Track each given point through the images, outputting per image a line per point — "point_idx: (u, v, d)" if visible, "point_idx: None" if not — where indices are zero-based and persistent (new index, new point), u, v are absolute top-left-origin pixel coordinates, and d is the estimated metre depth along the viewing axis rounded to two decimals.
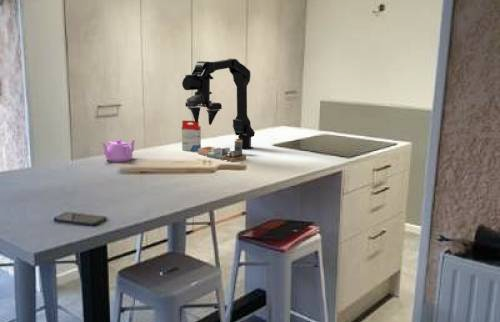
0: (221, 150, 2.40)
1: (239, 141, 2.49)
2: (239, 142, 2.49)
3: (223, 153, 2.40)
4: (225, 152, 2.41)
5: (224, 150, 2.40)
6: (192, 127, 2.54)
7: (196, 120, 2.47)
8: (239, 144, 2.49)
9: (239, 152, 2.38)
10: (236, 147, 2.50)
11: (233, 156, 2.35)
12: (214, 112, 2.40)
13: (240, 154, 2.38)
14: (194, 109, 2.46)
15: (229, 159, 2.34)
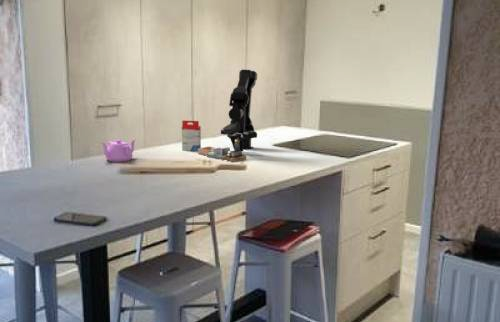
0: (221, 150, 2.40)
1: (239, 141, 2.49)
2: (239, 142, 2.49)
3: (223, 153, 2.40)
4: (225, 152, 2.41)
5: (224, 150, 2.40)
6: (192, 127, 2.54)
7: None
8: (239, 144, 2.49)
9: (239, 152, 2.38)
10: (236, 147, 2.50)
11: (233, 156, 2.35)
12: (245, 139, 2.49)
13: (240, 154, 2.38)
14: (233, 137, 2.51)
15: (229, 159, 2.34)
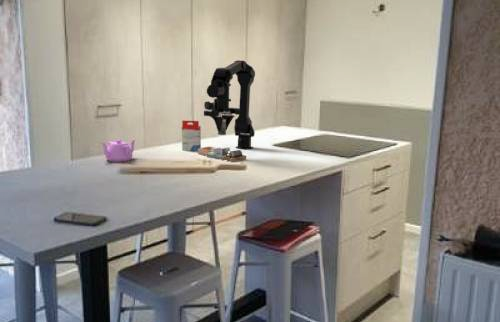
0: (221, 150, 2.40)
1: None
2: None
3: (223, 153, 2.40)
4: (225, 152, 2.41)
5: (224, 150, 2.40)
6: (192, 127, 2.54)
7: None
8: None
9: (239, 152, 2.38)
10: None
11: (233, 156, 2.35)
12: (218, 119, 2.38)
13: (240, 154, 2.38)
14: (224, 117, 2.43)
15: (229, 159, 2.34)
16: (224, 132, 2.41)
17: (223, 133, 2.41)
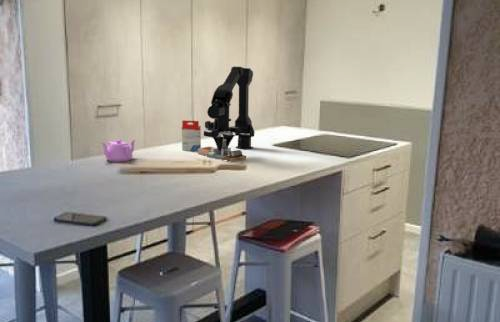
0: (222, 150, 2.39)
1: None
2: None
3: (224, 153, 2.40)
4: (226, 153, 2.41)
5: (225, 150, 2.40)
6: (192, 127, 2.54)
7: None
8: None
9: (239, 152, 2.38)
10: None
11: (233, 156, 2.35)
12: (218, 139, 2.38)
13: (240, 154, 2.38)
14: (225, 136, 2.44)
15: (229, 159, 2.34)
16: None
17: None
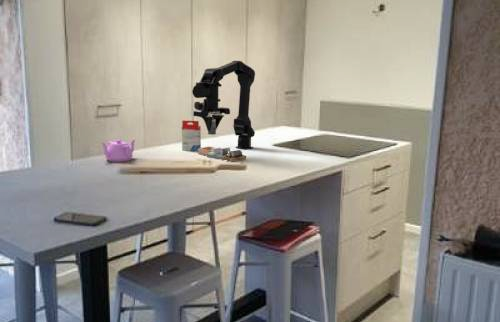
0: (221, 150, 2.40)
1: None
2: None
3: (223, 153, 2.40)
4: (226, 152, 2.41)
5: (224, 150, 2.40)
6: (192, 127, 2.54)
7: None
8: None
9: (239, 152, 2.38)
10: None
11: (233, 156, 2.35)
12: (208, 119, 2.41)
13: (240, 154, 2.38)
14: (214, 116, 2.47)
15: (229, 159, 2.34)
16: (214, 132, 2.45)
17: (213, 133, 2.44)
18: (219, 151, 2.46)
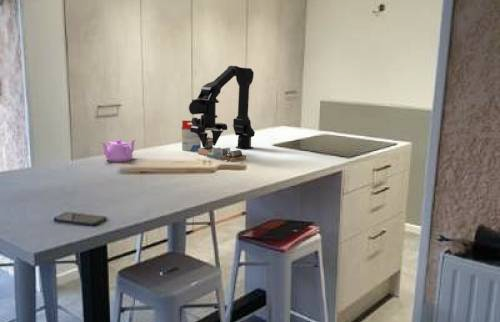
0: (221, 150, 2.40)
1: None
2: None
3: (223, 153, 2.40)
4: (226, 152, 2.41)
5: (224, 150, 2.40)
6: None
7: (213, 143, 2.51)
8: None
9: (239, 152, 2.38)
10: None
11: (233, 156, 2.35)
12: (203, 135, 2.43)
13: (240, 154, 2.38)
14: (213, 132, 2.51)
15: (229, 159, 2.34)
16: None
17: None
18: (219, 151, 2.46)
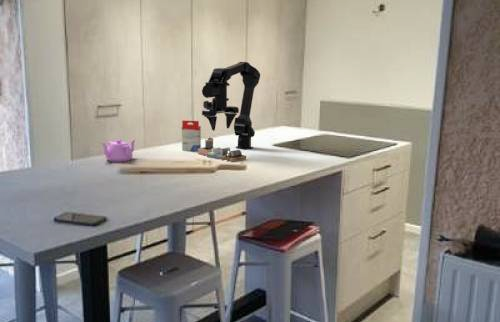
0: (221, 150, 2.40)
1: (205, 139, 2.48)
2: (205, 140, 2.48)
3: (223, 153, 2.40)
4: (226, 152, 2.41)
5: (224, 150, 2.40)
6: (192, 127, 2.54)
7: (227, 126, 2.52)
8: (205, 142, 2.48)
9: (238, 151, 2.39)
10: None
11: (232, 155, 2.35)
12: (212, 119, 2.43)
13: (239, 153, 2.39)
14: (227, 115, 2.52)
15: (229, 159, 2.34)
16: None
17: None
18: (219, 151, 2.46)
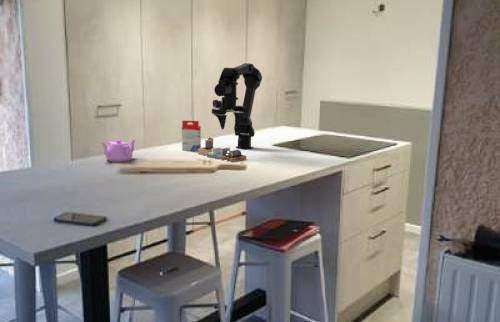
0: (221, 150, 2.40)
1: (205, 139, 2.48)
2: (205, 140, 2.48)
3: (223, 153, 2.40)
4: None
5: (224, 150, 2.40)
6: (192, 127, 2.54)
7: (235, 125, 2.54)
8: (205, 142, 2.48)
9: (237, 151, 2.39)
10: None
11: (232, 155, 2.36)
12: (222, 117, 2.44)
13: (239, 153, 2.39)
14: (235, 114, 2.54)
15: (229, 159, 2.34)
16: None
17: None
18: (219, 151, 2.46)
